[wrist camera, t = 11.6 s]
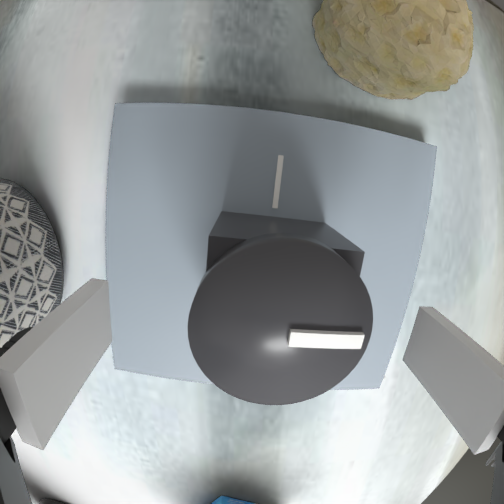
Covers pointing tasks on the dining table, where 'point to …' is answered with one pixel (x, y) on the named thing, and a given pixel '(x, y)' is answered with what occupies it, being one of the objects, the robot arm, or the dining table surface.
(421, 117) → the dining table surface
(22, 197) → the planter
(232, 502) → the ink box
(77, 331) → the robot arm
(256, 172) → the panel
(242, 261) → the knob
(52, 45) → the dining table surface
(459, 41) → the decorative object
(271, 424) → the dining table surface
